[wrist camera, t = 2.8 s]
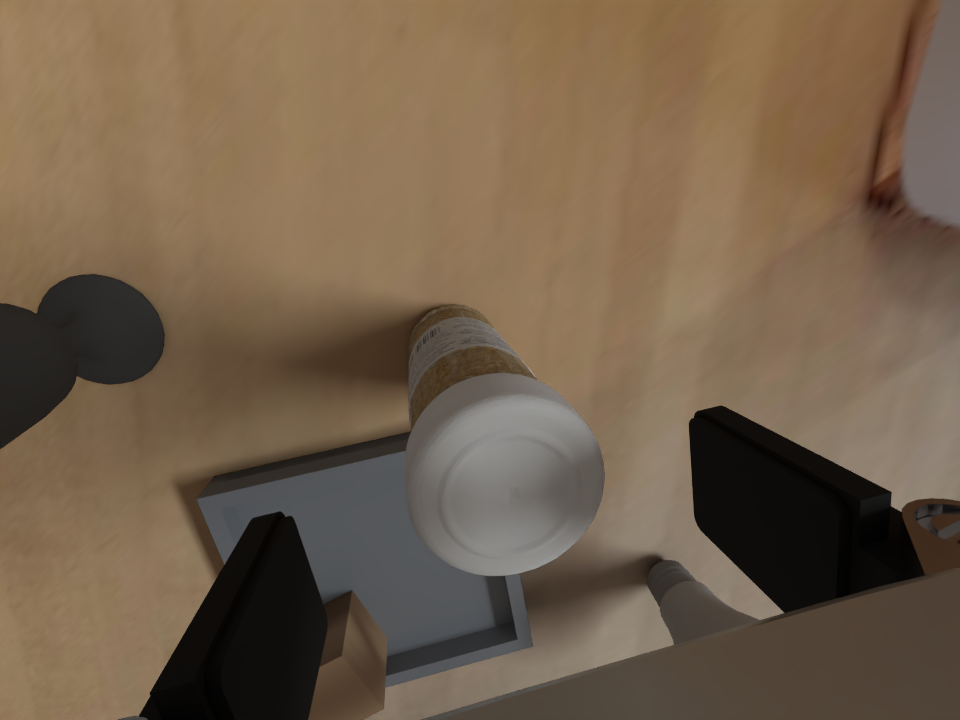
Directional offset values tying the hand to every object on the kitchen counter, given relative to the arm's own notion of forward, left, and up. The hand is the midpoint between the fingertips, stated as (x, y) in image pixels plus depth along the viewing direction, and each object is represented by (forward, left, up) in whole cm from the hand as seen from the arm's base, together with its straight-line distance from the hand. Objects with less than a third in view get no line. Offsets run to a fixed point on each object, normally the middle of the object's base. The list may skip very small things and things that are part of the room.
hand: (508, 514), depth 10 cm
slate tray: (+10, -6, -13) cm, 18 cm away
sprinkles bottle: (-1, 0, -13) cm, 13 cm away
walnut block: (+14, -9, -12) cm, 21 cm away
